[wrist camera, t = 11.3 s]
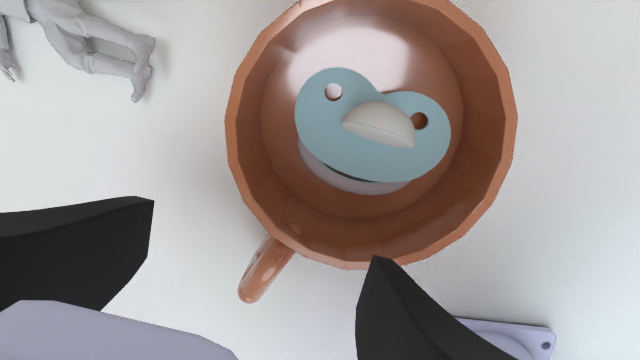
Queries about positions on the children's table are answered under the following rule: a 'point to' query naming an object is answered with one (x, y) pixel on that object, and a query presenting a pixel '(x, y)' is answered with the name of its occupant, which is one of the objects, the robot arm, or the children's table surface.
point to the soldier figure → (79, 39)
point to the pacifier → (367, 134)
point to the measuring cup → (386, 76)
